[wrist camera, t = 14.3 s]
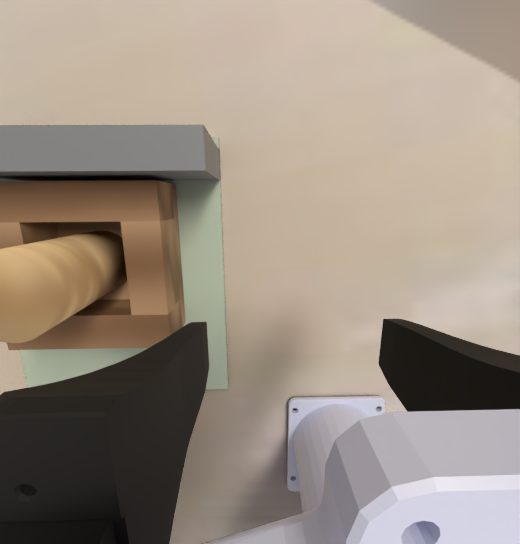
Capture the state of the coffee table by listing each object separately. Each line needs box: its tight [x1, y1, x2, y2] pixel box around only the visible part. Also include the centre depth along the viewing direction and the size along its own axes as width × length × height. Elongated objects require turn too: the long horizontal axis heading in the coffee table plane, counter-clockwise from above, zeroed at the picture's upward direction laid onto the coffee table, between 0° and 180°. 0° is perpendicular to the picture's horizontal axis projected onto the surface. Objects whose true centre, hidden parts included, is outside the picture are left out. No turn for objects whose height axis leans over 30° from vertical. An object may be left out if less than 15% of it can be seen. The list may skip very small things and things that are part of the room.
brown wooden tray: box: [0, 180, 186, 350], centre depth 19 cm, size 10×10×4 cm
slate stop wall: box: [0, 125, 221, 181], centre depth 17 cm, size 2×16×6 cm, turn 90°
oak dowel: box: [0, 230, 127, 343], centre depth 16 cm, size 4×4×8 cm
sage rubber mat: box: [20, 137, 228, 390], centre depth 21 cm, size 19×16×1 cm
